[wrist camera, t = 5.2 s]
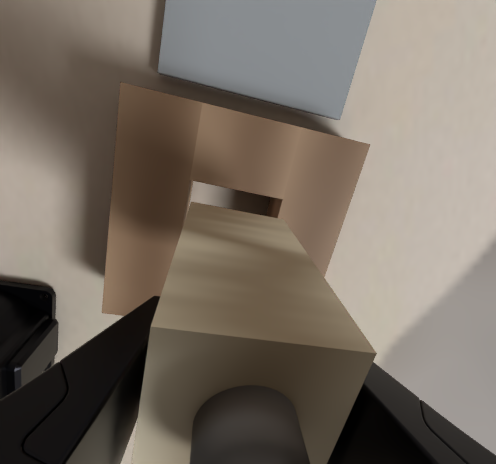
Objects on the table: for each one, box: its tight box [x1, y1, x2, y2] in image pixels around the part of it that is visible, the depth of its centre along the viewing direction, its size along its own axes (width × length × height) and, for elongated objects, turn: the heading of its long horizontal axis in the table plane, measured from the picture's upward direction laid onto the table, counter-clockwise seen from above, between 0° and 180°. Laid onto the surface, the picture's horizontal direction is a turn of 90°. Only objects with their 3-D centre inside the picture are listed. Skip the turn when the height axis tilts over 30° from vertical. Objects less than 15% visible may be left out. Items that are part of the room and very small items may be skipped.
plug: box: [131, 202, 377, 464], centre depth 9 cm, size 4×4×9 cm
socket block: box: [102, 82, 370, 316], centre depth 17 cm, size 12×12×3 cm
